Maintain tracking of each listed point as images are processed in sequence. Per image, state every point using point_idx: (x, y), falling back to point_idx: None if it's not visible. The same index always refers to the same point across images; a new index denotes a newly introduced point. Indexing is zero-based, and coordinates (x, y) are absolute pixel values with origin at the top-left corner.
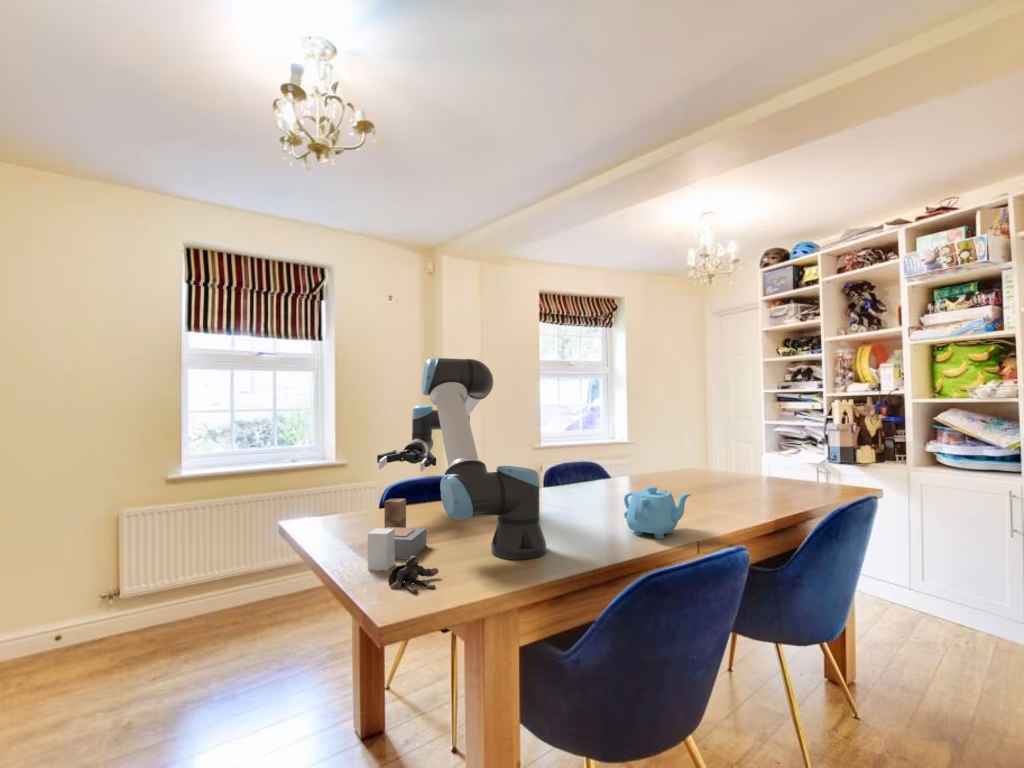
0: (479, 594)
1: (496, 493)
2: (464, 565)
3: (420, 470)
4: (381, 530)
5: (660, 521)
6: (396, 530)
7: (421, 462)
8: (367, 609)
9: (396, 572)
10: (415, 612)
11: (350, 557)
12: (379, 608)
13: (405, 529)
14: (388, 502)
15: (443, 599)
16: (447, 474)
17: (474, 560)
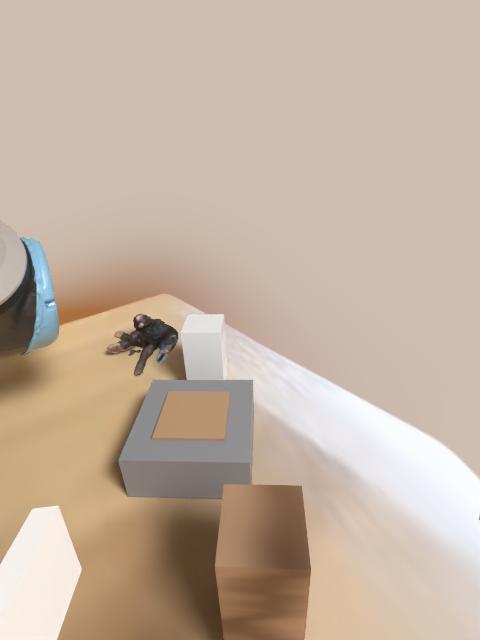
0: (63, 330)
1: None
2: (56, 394)
3: (77, 563)
4: (204, 325)
5: None
6: (203, 424)
7: (39, 531)
8: (186, 304)
9: (167, 332)
10: (138, 305)
11: (293, 409)
12: (174, 306)
13: (179, 433)
14: (281, 487)
15: (108, 321)
16: (27, 242)
17: (27, 415)
